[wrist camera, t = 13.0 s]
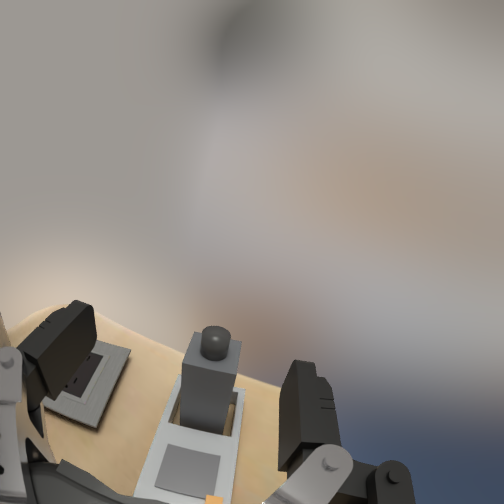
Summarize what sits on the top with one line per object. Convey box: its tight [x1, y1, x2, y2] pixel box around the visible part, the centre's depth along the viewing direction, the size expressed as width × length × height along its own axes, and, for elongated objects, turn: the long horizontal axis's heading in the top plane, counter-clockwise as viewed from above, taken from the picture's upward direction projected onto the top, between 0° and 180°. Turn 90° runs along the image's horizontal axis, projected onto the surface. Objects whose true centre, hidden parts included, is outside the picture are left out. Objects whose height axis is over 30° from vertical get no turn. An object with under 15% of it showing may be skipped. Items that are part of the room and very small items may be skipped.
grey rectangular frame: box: [133, 374, 245, 504], centre depth 22 cm, size 8×17×3 cm, turn 176°
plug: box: [180, 326, 242, 435], centre depth 25 cm, size 4×4×13 cm
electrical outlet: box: [42, 340, 131, 428], centre depth 26 cm, size 13×10×2 cm
